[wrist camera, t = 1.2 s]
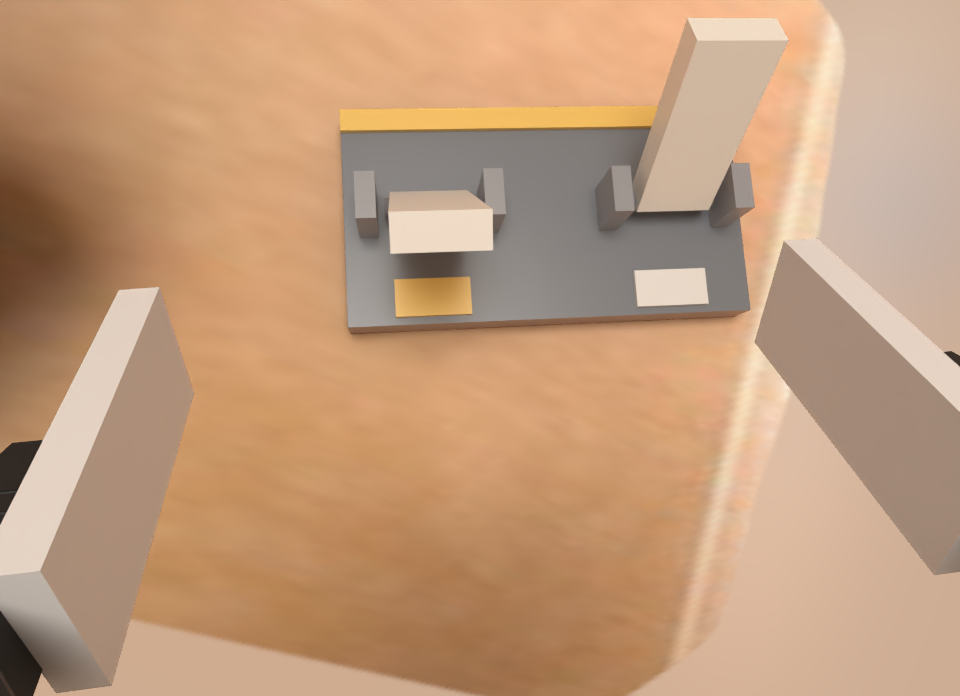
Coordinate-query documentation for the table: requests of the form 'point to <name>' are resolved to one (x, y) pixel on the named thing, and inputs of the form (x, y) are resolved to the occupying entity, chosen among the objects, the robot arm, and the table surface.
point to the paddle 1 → (438, 222)
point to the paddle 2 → (705, 110)
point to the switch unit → (532, 223)
